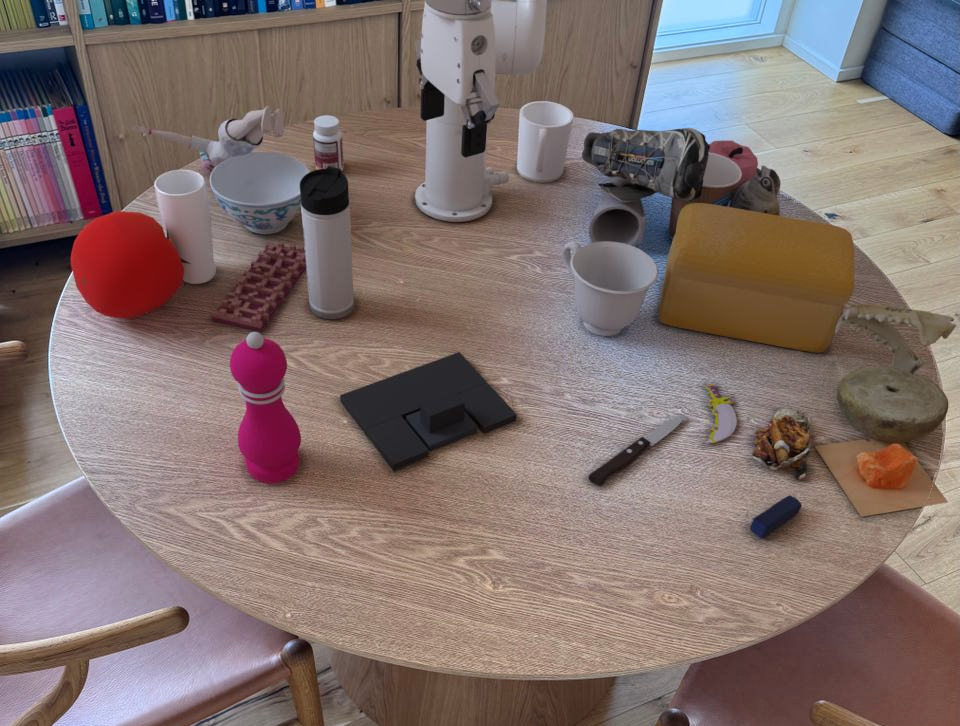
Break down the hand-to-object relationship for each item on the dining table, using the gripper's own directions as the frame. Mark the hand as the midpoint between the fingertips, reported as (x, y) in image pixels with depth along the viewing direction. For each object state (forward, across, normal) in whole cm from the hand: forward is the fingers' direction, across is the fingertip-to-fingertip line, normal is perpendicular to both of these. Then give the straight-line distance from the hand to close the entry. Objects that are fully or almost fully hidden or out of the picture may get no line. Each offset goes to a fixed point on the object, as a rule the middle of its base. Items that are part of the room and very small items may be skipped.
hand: (452, 135), depth 117 cm
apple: (+27, +3, -57) cm, 63 cm away
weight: (+20, -49, -38) cm, 65 cm away
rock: (+28, -56, -28) cm, 69 cm away
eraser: (+23, -55, -16) cm, 61 cm away
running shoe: (+15, -1, -40) cm, 42 cm away
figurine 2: (+23, -11, -45) cm, 52 cm away
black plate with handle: (+25, -23, +14) cm, 37 cm away
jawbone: (+18, -40, -47) cm, 65 cm away
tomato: (+18, +19, +46) cm, 53 cm away
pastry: (+27, -47, -23) cm, 59 cm away
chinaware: (+26, +30, +15) cm, 42 cm away
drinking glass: (+26, +22, +29) cm, 45 cm away
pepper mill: (+25, -18, +35) cm, 47 cm away
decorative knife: (+25, -40, -21) cm, 51 cm away
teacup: (+26, -14, -17) cm, 34 cm away
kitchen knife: (+24, -39, -6) cm, 47 cm away
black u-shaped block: (+25, -19, +14) cm, 35 cm away
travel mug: (+26, +6, +15) cm, 31 cm away
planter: (+26, +8, -37) cm, 46 cm away
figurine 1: (+7, +26, +13) cm, 29 cm away
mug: (+27, +23, -33) cm, 48 cm away
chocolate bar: (+26, +14, +22) cm, 37 cm away
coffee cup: (+26, -4, -44) cm, 51 cm away
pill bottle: (+27, +40, -2) cm, 48 cm away
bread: (+26, -24, -37) cm, 51 cm away
